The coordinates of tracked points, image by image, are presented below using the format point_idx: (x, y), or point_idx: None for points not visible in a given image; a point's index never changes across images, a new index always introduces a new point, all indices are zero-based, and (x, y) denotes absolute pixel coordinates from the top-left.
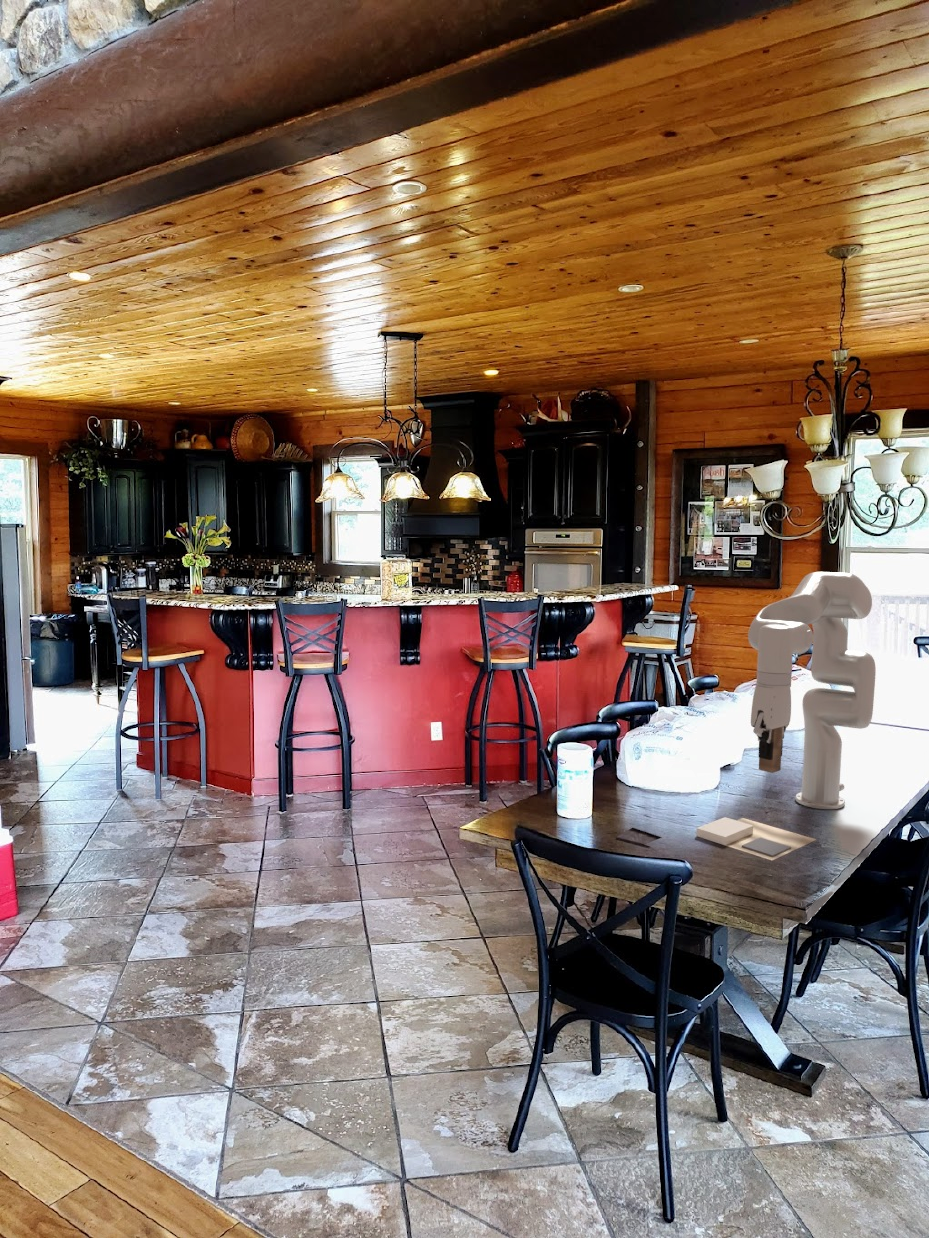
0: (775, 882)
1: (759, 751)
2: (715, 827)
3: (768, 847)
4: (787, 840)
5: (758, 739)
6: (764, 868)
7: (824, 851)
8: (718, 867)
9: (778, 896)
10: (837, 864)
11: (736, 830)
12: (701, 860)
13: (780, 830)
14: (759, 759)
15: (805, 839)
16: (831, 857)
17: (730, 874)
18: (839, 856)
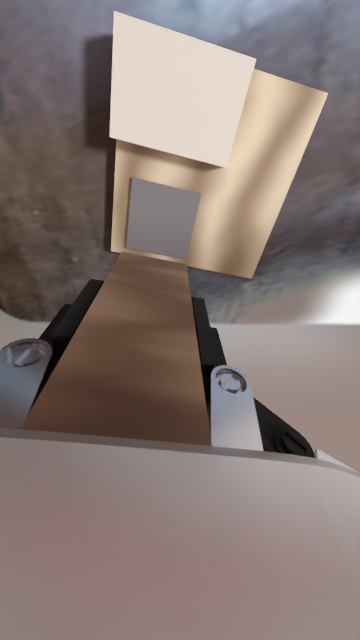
0: (56, 274)
1: (82, 295)
2: (156, 74)
3: (157, 228)
4: (221, 241)
5: (4, 351)
6: (92, 242)
7: (224, 292)
8: (26, 168)
9: (17, 292)
10: None
11: (170, 143)
12: (25, 114)
13: (270, 211)
14: (110, 271)
15: (242, 264)
16: (205, 306)
17: (19, 203)
18: (215, 312)
